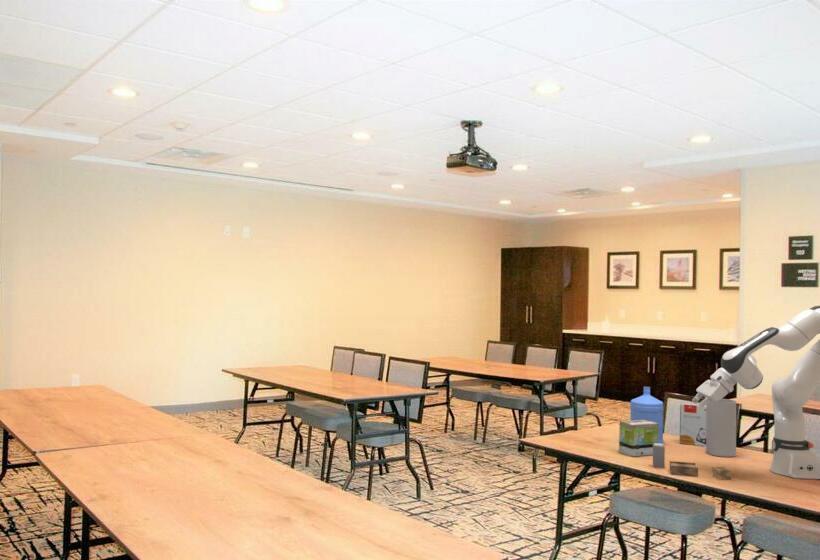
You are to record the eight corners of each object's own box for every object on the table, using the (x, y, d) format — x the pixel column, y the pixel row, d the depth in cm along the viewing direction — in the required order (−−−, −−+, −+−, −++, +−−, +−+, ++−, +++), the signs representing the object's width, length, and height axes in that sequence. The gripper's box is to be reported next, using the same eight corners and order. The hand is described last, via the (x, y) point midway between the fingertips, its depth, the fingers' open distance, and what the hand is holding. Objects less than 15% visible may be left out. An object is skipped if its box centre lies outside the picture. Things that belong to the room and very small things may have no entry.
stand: (695, 471, 271) (695, 463, 271) (697, 476, 263) (697, 467, 263) (669, 469, 274) (669, 461, 274) (671, 474, 266) (671, 465, 266)
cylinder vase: (700, 452, 306) (700, 399, 306) (718, 450, 311) (719, 397, 312) (723, 458, 295) (723, 403, 295) (742, 456, 300) (742, 401, 300)
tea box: (633, 457, 294) (634, 424, 295) (618, 452, 303) (618, 420, 304) (658, 454, 300) (659, 422, 301) (642, 449, 309) (643, 418, 310)
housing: (663, 465, 280) (663, 443, 280) (664, 468, 276) (664, 445, 276) (652, 464, 281) (652, 442, 282) (653, 467, 277) (653, 444, 278)
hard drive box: (679, 443, 324) (679, 403, 324) (680, 440, 330) (680, 401, 331) (713, 447, 316) (713, 406, 317) (714, 444, 323) (714, 404, 324)
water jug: (660, 448, 313) (660, 390, 313) (626, 444, 321) (627, 387, 321) (665, 442, 326) (666, 386, 327) (633, 438, 334) (633, 384, 335)
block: (724, 476, 264) (724, 467, 264) (731, 480, 259) (731, 470, 259) (712, 476, 264) (712, 467, 264) (719, 480, 259) (719, 470, 259)
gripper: (707, 373, 287) (684, 394, 288) (723, 379, 266) (698, 402, 267) (718, 383, 286) (695, 405, 287) (735, 390, 266) (710, 413, 267)
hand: (696, 403), depth 277 cm, fingers open, 8 cm apart
